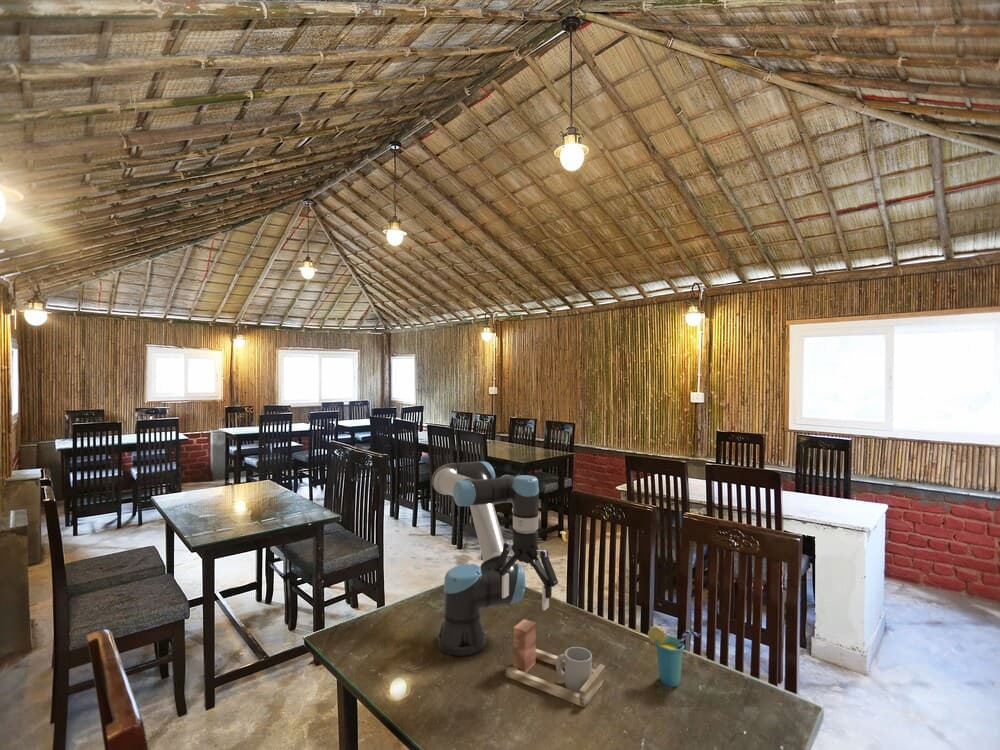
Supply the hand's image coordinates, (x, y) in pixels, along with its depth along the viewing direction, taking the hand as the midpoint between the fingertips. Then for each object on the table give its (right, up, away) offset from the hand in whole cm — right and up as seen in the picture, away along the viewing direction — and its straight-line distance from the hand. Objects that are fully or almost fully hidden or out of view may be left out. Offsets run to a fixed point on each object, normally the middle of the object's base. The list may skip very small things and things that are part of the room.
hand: (524, 602), depth 143 cm
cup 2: (+41, -19, -7) cm, 46 cm away
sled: (+8, -19, -6) cm, 21 cm away
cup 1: (+13, -19, -9) cm, 24 cm away
